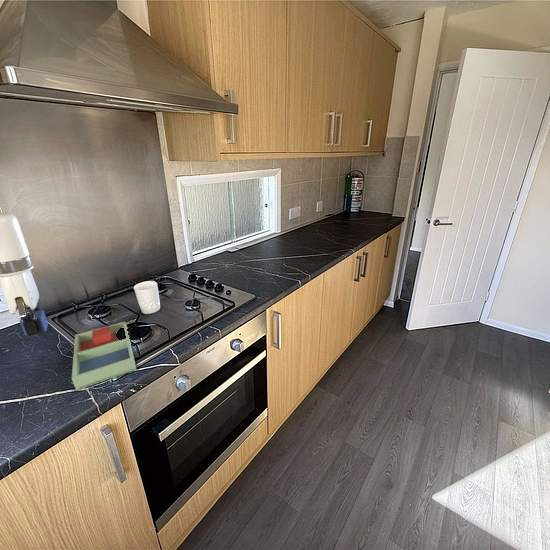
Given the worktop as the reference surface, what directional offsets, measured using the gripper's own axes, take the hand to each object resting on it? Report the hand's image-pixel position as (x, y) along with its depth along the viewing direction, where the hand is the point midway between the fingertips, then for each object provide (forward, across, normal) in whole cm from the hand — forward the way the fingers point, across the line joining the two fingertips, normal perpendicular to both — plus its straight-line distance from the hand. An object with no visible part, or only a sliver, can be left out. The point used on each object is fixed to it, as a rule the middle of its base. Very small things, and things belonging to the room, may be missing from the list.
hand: (36, 328), depth 78 cm
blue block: (0, 0, 0) cm, 0 cm away
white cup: (+11, -17, +30) cm, 36 cm away
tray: (+12, +5, +14) cm, 19 cm away
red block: (+11, 0, +14) cm, 17 cm away
